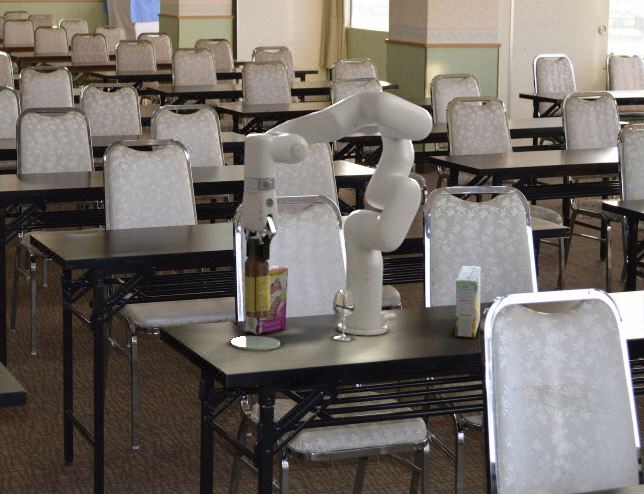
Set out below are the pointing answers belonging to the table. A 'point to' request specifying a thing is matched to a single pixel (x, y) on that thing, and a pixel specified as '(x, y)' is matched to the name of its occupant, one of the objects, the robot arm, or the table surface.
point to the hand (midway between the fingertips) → (257, 257)
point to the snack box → (468, 301)
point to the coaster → (255, 343)
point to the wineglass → (343, 308)
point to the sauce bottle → (256, 283)
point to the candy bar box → (272, 305)
